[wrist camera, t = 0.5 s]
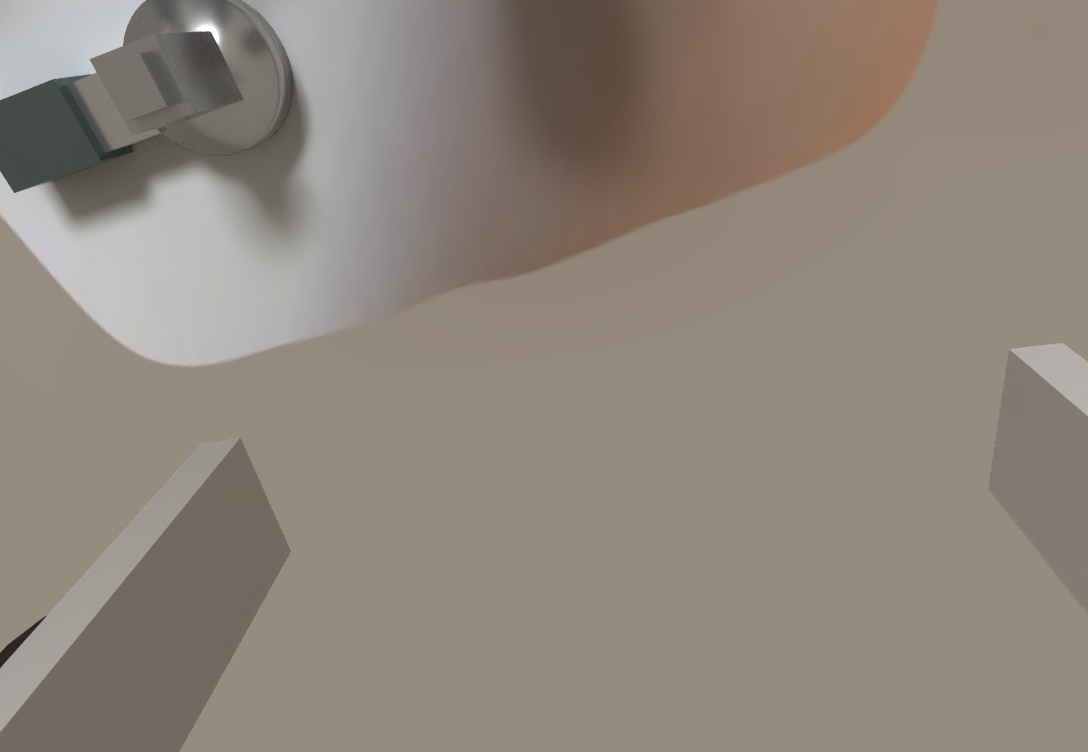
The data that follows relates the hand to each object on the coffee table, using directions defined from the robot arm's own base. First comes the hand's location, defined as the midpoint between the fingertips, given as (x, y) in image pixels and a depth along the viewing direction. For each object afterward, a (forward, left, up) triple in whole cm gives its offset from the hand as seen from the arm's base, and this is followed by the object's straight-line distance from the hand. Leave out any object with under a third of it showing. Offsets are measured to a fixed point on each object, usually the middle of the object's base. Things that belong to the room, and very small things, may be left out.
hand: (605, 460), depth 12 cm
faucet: (-10, -20, -25) cm, 34 cm away
